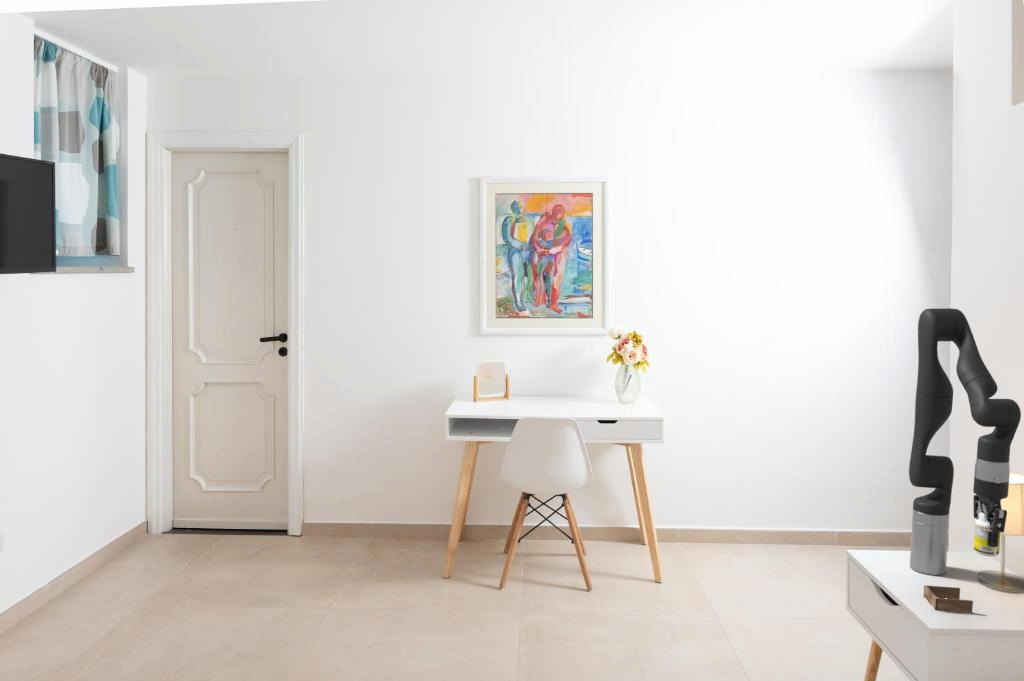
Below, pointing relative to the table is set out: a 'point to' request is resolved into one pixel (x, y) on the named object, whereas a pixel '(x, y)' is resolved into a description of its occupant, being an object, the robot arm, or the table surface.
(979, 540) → the supplement bottle
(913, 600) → the table surface
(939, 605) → the walnut u rest
